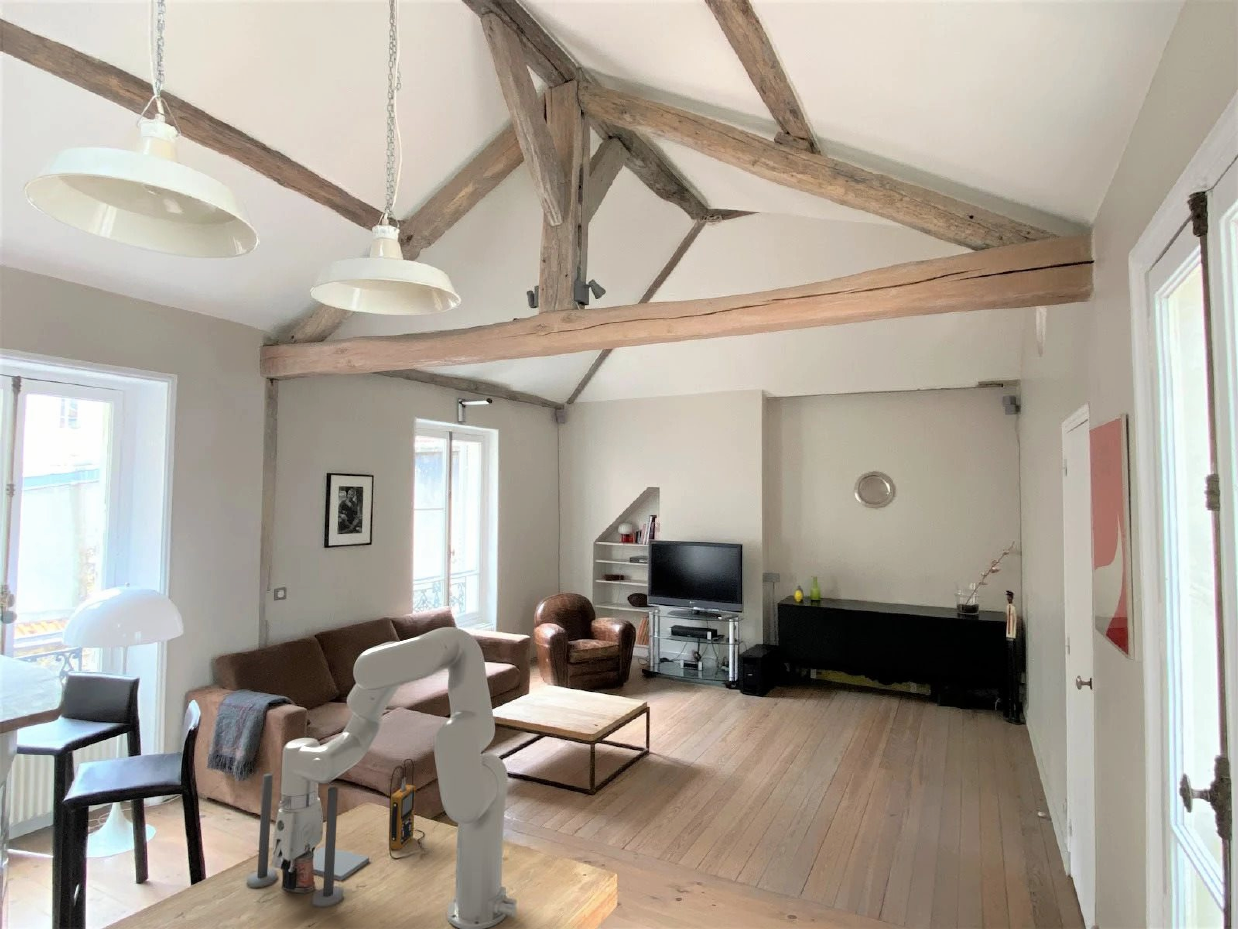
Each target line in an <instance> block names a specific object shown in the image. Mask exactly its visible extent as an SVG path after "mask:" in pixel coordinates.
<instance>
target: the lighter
mask: <svg viewBox="0 0 1238 929" xmlns="http://www.w3.org/2000/svg"><path fill="white" fill-rule="evenodd" d="M309 850H310V844H307V845H306V847H305V853H304V854H302V855H300V856H299V857H297V858H295V867H294V870H296V871H297V872H296V888H295V889H294V890H290V889H286V888H283V880H282V881H281V887H282V888H283V889H285V890H287V891H290V892H293V893H294V892H295V893H305V894H306V893H310V892H312V891H313V890H314V889H315V888H316V881H315V874H314V869H313V858H314V853H313V852H314V851H313V852H312V851H309ZM287 862H288V863H289V860H287ZM281 871H282V872H281V875H282V876H281V877H282V878H283V870H281Z"/></svg>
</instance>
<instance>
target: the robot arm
mask: <svg viewBox="0 0 1238 929" xmlns="http://www.w3.org/2000/svg"><path fill="white" fill-rule="evenodd" d="M483 653H484V652H483V650H482V648H481V646H480V643H479V642H478V641H477V639H475V637H474V636H473V635H471V633H469V632H467V631H466V630H464V629H462V628H459V627H455V626H445V627H443V626H442V627H440V628H436V629H434V630H431V631H428V632H426V633H424V634H420V635H418V636H416V637H413V638H409V639H406V640H402V641H387V642H384V643H381V644H379V645H376V646H373V647H371V648H368V649H366V650H365V651H362V653H360V655H358V657H357V659H356V661H355V663H354V666H353V670H352V671H353V672H352V674H353V678H354V681H355V684H354V685H353V687H352V689H351V690H350V691H349V693H348V694H347V698H346V704H347V707H348V709H349V710H350V711H351V712H352V716H351V718H350V719H349V721H348V722H347V724H346V726H345V727H344V729H343V730H342V732H341V733H340V735H339V736H337V737H335V738H333V739H332V740H329V741H328V742H326V743H324V744H320V742H319V741H318V739H316V738H312V737H301V738H296V739H295V738H294V739H292V740H290V741H288V742H287V743H286V744H285V745H284V747H283V749H282V759H281V760H282V762H281V764H282V765H281V782H280V783H281V784H280V801H279V802H278V803H277V807H278V808H279V809H278V811H277V816H276V819H275V823H274V824H275V826H274V832H273V842H272V854H273V857H272V860H271V861H270V868H271V867H272V868H275V869H276V868H277V869H280V870H281V871H282V870H283V877H282V881H283V887H282V888H283V889H284V888H286V889H285V890H287V889H290V890H294V889H295V888H296V872H297V871H296V870H294V867H295V858H297V857H299V856H300V855H302V854H304V853H305V847H306V845H307V844H310V850H309V851H312V852H314V851H315V850H316V847H317V846H318V845H319V844H321V842H322V840H323V836H324V818H323V806H322V801H321V798H320V797H319V784H326V783H330V782H332V781H333V780H335V779H337V778H339V777H340V776H341V775H342V774H344V773H345V772H347V771H348V770H349V769H350V770H351V768H352V767H354V766H356V765H357V764H359V762H360V761H361V760H362V759H363V758H364V756H365V755H366V753H367V752H368V750H369V748H370V747H371V746H372V744H373V742H374V741H375V739H376V737H377V736H378V733H379V731H380V728H381V725H382V724H381V723H382V720H383V714H384V712H385V710H386V709H387V707H388V705H389V704H390V702H391V700H392V699H393V697H394V696H395V694H396V692H397V691H398V689H399V687H400V686H401V685H403V684H408V683H411V682H414V681H420V680H423V679H426V678H428V677H431V676H433V675H435V674H436V673H439V672H440V671H442V670H444V669H447V670H448V671H447V672H448V679H447V680H448V681H447V694H448V700H449V707H450V717H449V718H447V719H446V720H445V721H444V722H443V723H442V724H441V725H440V727H439V728H438V730H437V732H436V733H435V734H436V735H435V738H434V745H433V751H434V760H435V767H436V772H437V773H436V774H437V781H438V787H439V795H440V800H441V803H442V808H443V810H444V811H445V813H446V815H447V816H448V817H449V819H451V820H452V821H453V822H455V823H457V841H456V843H457V844H456V868H455V869H456V871H455V898H453V900H451V901H450V903H449V904H448V907H447V910H446V913H447V914H446V917H447V920H448V921H449V923H450V924H451V925H453V926H454V927H456V928H459V929H488V928H491V927H493V926H495V925H497V924H499V923H500V922H501V921H503V920H504V919H505V917H506V916H509V917H513V918H514V917H515V915H516V913H517V899H515V898H512V897H508V896H507V887H504V886H502V884H503V882H502V881H503V855H504V854H503V852H504V850H503V849H504V824H505V822H504V821H505V810H506V809H505V808H506V800H507V795H508V794H507V793H508V785H509V781H508V780H509V775H508V771H507V767H506V765H505V762H504V761H503V760H502V759H501V758H500V757H499V756H498V755H496V754H492V753H488V752H487V753H486V752H485V753H482V752H483V751H484V750H485V749H486V748H487V747H488V746H489V745H490V744H491V742H492V741H493V739H494V738H495V735H496V734H495V733H496V724H495V718H494V714H493V713H494V712H493V706H492V700H491V695H490V689H489V685H488V676H487V671H486V663H485V657H484V654H483ZM287 860H289V863H288V862H287ZM290 890H289V891H290Z"/></svg>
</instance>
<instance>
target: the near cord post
mask: <svg viewBox="0 0 1238 929" xmlns="http://www.w3.org/2000/svg"><path fill="white" fill-rule="evenodd" d="M338 795H339V787H338V786H331V787H329V788H328V789H327V804H326V807H327V808H326V823H325V824H326V828H325V845H324V846H325V864H324V876H323V888H321V889H319V890H316V891H315V892H314V893H313V895H312V905H313V906H314V907H316V908H317V907H318V908H327V907H331V906H335V905H336V904H338V903H339V902H341V901H342V900H343V898H344V888H342V887H340V886H335V885H334V884H335V883H334V881H335V879H334V864H335V849H336V841H337V840H336V838H337V817H338V801H339V800H338V797H339V796H338Z"/></svg>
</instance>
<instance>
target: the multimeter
mask: <svg viewBox="0 0 1238 929" xmlns="http://www.w3.org/2000/svg"><path fill="white" fill-rule="evenodd" d="M407 761H411V763H412V773H411V774H412V775H411V782H412V784H407V781H406V780H407V778H406V777H407V775H406V773H407V767H406V762H407ZM403 766H404V768H403V767H402V766H399V765H398V766H396V767H395V768H394V770H393V772H392V774H391V779H390V787H389V819H388V820H389V822H388V825H389V827H388V828H389V830H388V849H389V851H388V852H389V855H390V857H391V858H392V859H394V860H400V859H402V858H407V857H409V856H412V855H414V854H415V853H418V852H420V851H422V850H421V849H419V850H416V851H411V852H409V853H406V854H404V855H402V856H400V857H395V856H393V855H392V853H391V852H392V851H391V850H397V851H400V850H401V849H402V848H403V847H404V846H405V845H406V844H407V843H408V842H409V841H410V839H411V840H412V838H414V831H415V830H414V829H415V827H414V824H415V803H416V785H414V771H415V770H414V768H415V767H414V762H413V759H411V758H408V759H407V758H406V759H405V760H404V762H403ZM398 768H400V769H401V770H402V779H401V785H400V786H401V787H400V789H398V790H396V791H395V792H394V793H392V787H393V786H392V784H393V778H394V774H395V771H396V770H397V769H398ZM417 830H418V832H420V833H422V832H423V833H422V835H423V836H421V837H420V838H418V839H417V841H416V842H417V843H418V844H419V845H420V846H421V848H422V849H423V850H425V851H426V852H428V850H427V849H426V846H425V845H424V844H423V843H422V842H421V841H419V840H421V839H423V838H424V837H425V832H424V831H422V830H419V829H417Z"/></svg>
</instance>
